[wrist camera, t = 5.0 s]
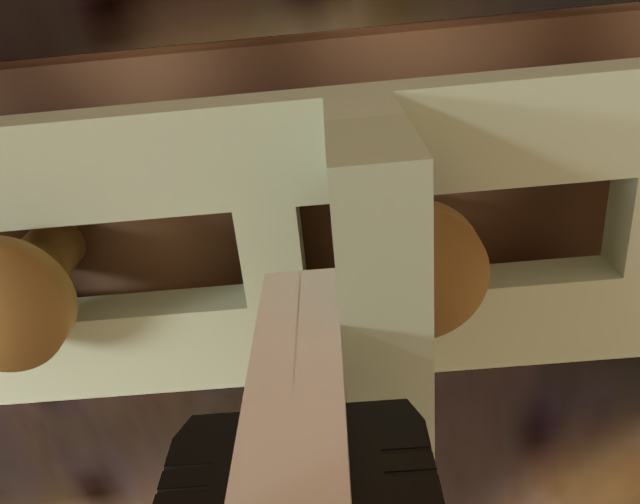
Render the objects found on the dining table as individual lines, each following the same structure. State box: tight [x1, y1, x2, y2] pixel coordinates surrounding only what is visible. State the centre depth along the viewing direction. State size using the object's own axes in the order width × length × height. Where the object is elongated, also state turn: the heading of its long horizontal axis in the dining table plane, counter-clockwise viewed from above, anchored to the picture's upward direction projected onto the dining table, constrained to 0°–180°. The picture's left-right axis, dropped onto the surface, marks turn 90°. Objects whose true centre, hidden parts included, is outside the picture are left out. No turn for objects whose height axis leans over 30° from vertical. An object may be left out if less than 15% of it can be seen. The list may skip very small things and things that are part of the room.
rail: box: [0, 2, 640, 372], centre depth 17 cm, size 26×10×6 cm, turn 95°
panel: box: [0, 57, 640, 459], centre depth 14 cm, size 21×8×7 cm, turn 95°
